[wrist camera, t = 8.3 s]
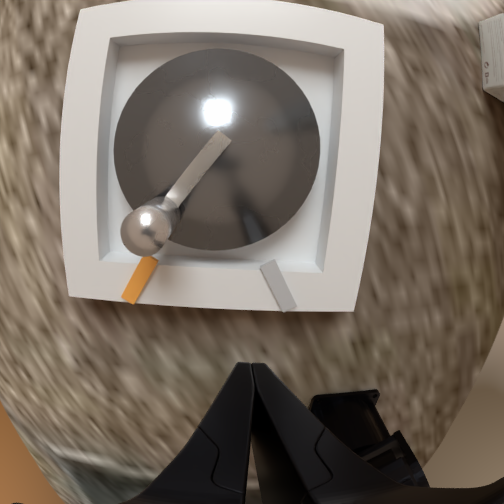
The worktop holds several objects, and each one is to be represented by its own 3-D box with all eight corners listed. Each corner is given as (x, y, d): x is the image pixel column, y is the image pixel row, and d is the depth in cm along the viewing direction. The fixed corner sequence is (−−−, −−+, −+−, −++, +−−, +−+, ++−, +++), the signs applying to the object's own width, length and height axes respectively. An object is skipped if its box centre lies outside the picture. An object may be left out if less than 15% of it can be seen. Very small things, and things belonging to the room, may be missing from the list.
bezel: (364, 38, 16) (385, 23, 13) (338, 291, 22) (354, 313, 19) (97, 24, 15) (78, 7, 12) (86, 278, 20) (67, 297, 17)
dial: (206, 25, 15) (197, -21, 9) (348, 140, 17) (394, 137, 12) (90, 168, 17) (40, 177, 11) (230, 277, 19) (231, 324, 14)
